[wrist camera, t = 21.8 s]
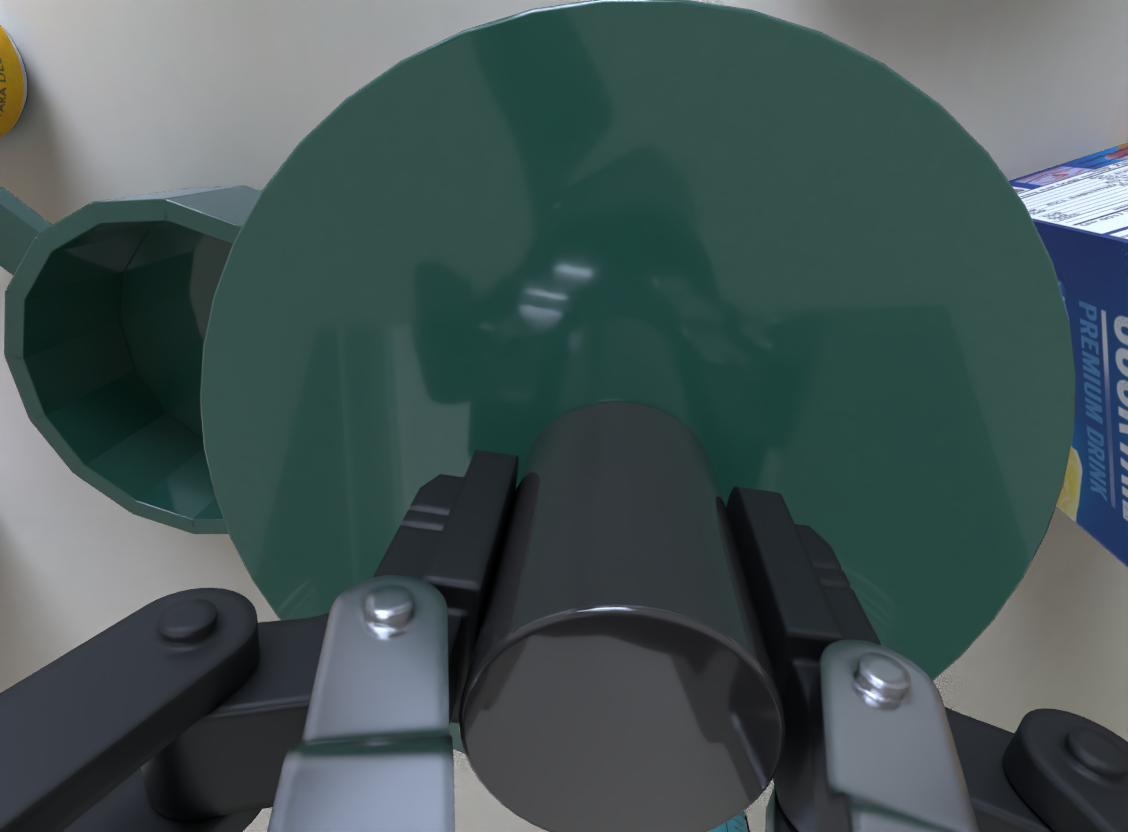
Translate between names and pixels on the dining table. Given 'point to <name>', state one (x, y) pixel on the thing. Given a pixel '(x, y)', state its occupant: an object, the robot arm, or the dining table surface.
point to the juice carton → (1092, 328)
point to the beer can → (11, 83)
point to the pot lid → (642, 376)
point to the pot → (122, 339)
